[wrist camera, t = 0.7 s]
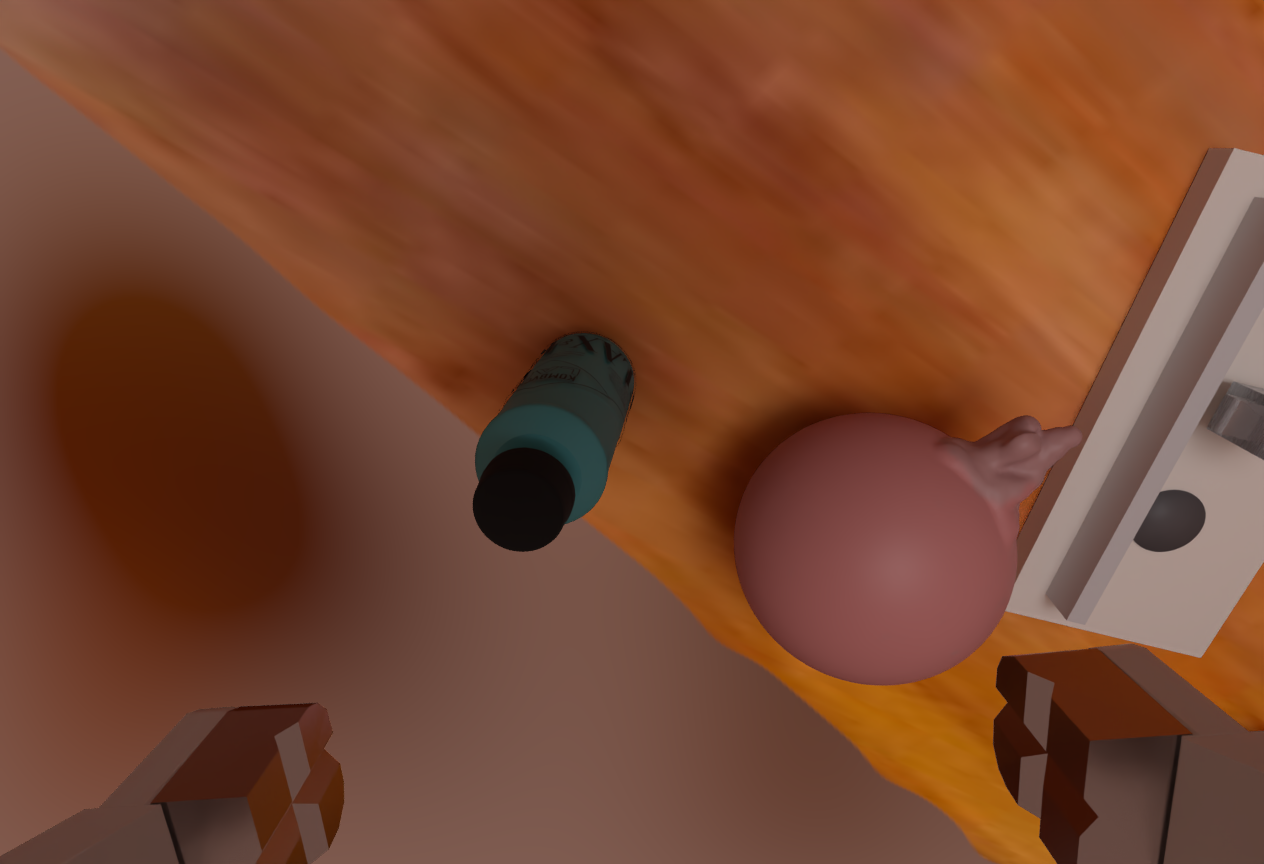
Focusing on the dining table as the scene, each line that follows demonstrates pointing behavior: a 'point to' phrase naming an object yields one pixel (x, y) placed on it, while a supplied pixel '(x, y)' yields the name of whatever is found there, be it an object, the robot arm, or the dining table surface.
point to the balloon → (888, 541)
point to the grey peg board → (1164, 442)
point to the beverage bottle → (552, 442)
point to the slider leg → (1241, 418)
